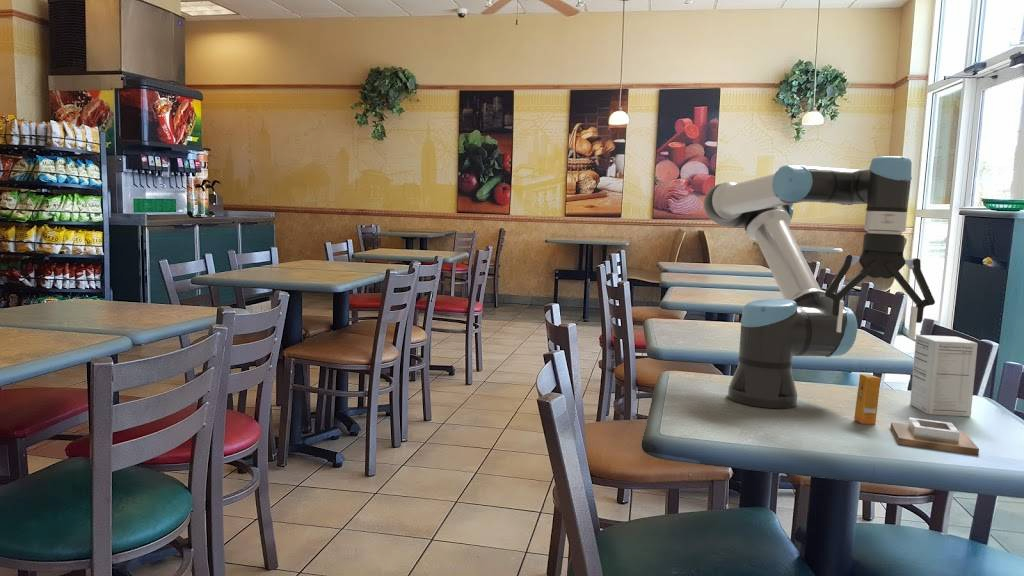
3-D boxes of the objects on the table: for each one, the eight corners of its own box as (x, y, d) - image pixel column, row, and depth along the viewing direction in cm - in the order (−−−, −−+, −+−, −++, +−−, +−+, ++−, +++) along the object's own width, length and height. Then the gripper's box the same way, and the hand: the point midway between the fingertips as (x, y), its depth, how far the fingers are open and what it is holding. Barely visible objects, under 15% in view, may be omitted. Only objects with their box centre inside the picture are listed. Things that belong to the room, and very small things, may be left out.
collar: (913, 436, 135) (914, 426, 135) (908, 427, 142) (909, 417, 141) (958, 443, 132) (959, 432, 132) (950, 432, 139) (951, 422, 139)
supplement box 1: (877, 424, 147) (882, 377, 146) (861, 424, 147) (865, 377, 146) (869, 420, 150) (873, 374, 149) (853, 419, 150) (857, 373, 149)
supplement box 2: (950, 406, 166) (958, 336, 164) (972, 417, 157) (980, 342, 155) (908, 404, 167) (915, 333, 165) (927, 414, 157) (934, 340, 156)
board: (898, 444, 134) (899, 437, 134) (890, 427, 145) (891, 422, 145) (978, 455, 129) (979, 448, 129) (963, 437, 140) (964, 431, 140)
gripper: (819, 229, 146) (810, 331, 148) (958, 236, 137) (946, 343, 139) (817, 229, 153) (809, 326, 155) (950, 236, 144) (939, 338, 146)
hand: (874, 335), depth 147 cm, fingers open, 13 cm apart
